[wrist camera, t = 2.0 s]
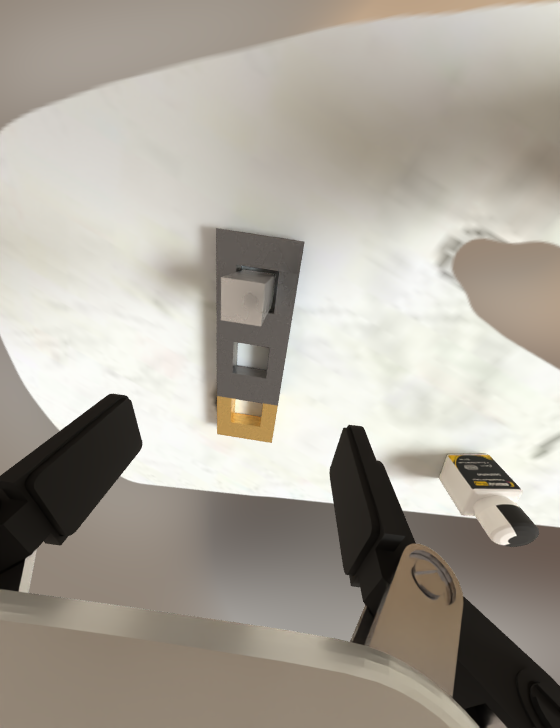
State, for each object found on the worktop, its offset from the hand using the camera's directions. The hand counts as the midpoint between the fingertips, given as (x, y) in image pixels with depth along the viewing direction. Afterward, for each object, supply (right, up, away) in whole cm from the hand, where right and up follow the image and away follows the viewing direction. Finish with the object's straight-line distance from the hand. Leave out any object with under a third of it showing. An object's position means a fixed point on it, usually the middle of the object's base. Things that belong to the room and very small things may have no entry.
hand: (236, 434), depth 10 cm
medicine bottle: (+37, -16, +32) cm, 52 cm away
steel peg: (-1, +14, +19) cm, 24 cm away
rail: (-2, +5, +24) cm, 25 cm away
